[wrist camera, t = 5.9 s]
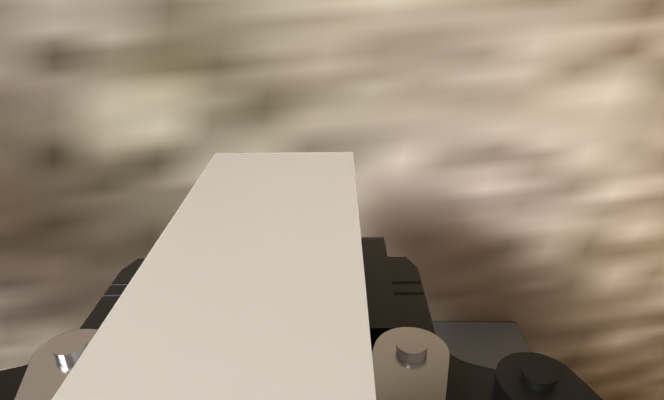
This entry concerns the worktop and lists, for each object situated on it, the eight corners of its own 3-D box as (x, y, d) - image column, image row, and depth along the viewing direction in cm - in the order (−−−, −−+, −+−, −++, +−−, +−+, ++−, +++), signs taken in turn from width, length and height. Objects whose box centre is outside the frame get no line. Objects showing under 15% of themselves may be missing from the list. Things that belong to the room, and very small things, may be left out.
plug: (213, 151, 15) (-127, 650, 4) (354, 150, 15) (406, 651, 4) (226, 272, 17) (13, 859, 6) (353, 271, 17) (389, 861, 6)
